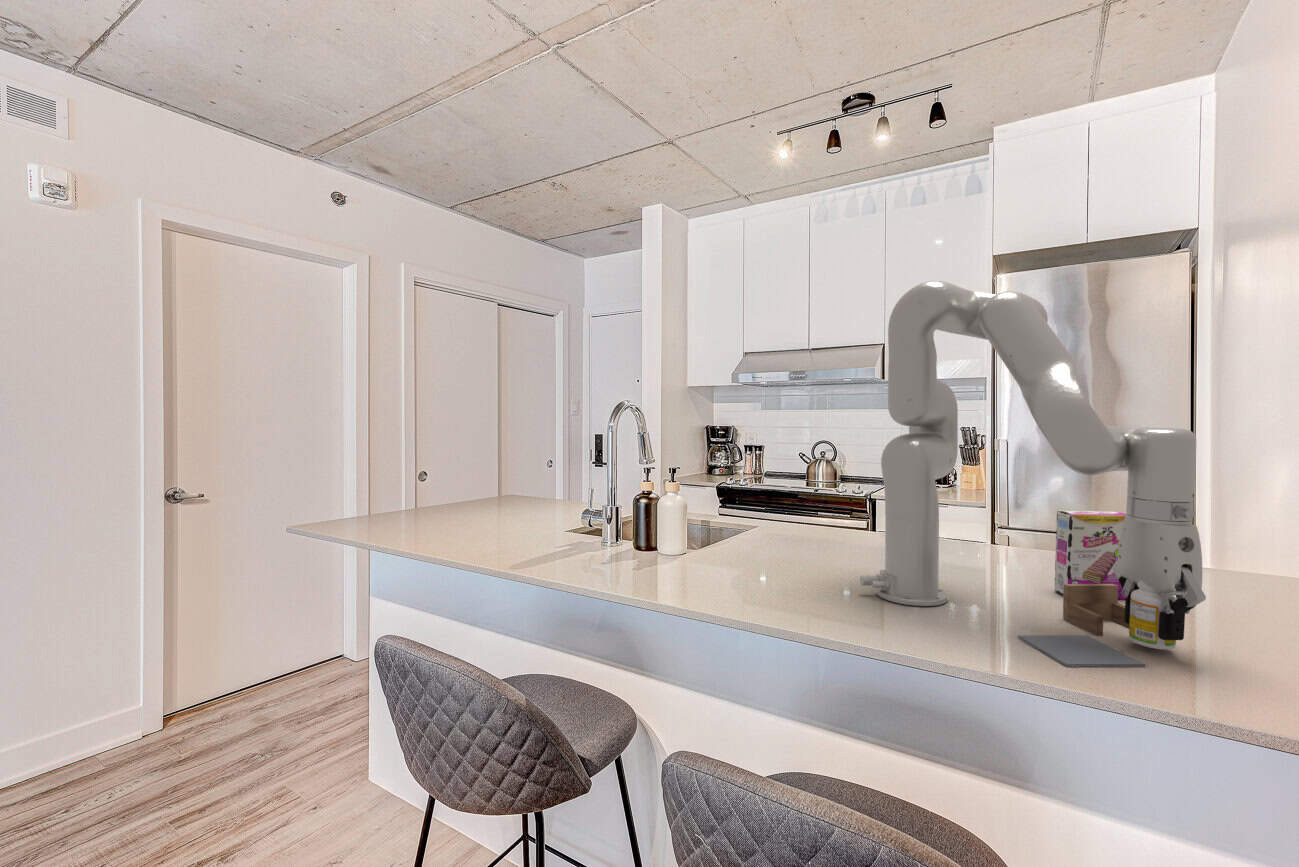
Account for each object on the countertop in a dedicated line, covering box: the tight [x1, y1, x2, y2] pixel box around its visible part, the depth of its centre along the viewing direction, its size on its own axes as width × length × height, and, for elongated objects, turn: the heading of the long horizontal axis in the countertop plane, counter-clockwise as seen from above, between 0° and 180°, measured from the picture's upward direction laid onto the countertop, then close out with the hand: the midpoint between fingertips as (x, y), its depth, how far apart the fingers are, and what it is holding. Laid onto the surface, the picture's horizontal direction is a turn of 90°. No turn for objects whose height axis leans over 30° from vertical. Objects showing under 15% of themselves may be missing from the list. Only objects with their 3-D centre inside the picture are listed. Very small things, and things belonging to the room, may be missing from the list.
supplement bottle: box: [1128, 581, 1177, 650], centre depth 89 cm, size 5×5×10 cm
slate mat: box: [1017, 634, 1146, 668], centre depth 89 cm, size 11×11×1 cm
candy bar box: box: [1054, 509, 1127, 601], centre depth 116 cm, size 11×5×16 cm, turn 84°
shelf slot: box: [1062, 584, 1129, 636], centre depth 99 cm, size 9×8×6 cm
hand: (1152, 630), depth 90 cm, fingers closed on supplement bottle, 5 cm apart
